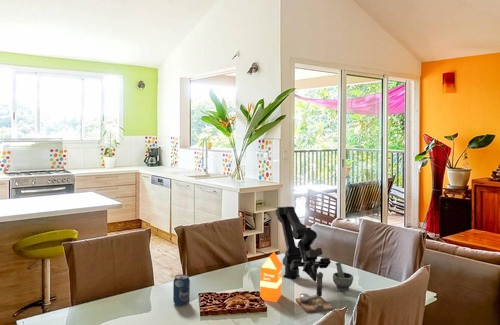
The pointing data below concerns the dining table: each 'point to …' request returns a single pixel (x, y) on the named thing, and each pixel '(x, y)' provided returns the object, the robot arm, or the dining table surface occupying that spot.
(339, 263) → the mortar and pestle
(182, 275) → the soda can
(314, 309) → the base
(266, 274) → the orange juice
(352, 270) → the dining table surface
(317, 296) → the lever
